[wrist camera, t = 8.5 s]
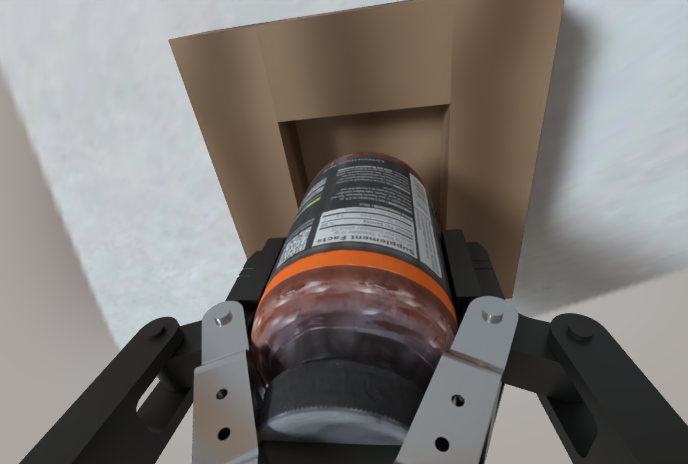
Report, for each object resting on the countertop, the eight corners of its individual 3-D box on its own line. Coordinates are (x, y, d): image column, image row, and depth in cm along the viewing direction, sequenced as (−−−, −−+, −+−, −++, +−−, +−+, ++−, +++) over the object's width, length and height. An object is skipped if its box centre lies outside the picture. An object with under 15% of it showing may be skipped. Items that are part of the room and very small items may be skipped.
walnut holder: (531, -20, 16) (568, -22, 13) (495, 257, 25) (511, 298, 21) (207, 31, 19) (168, 39, 15) (278, 265, 27) (263, 303, 24)
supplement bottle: (402, 268, 19) (413, 540, 9) (295, 235, 18) (195, 486, 9) (455, 171, 15) (553, 445, 6) (325, 127, 15) (215, 350, 6)
